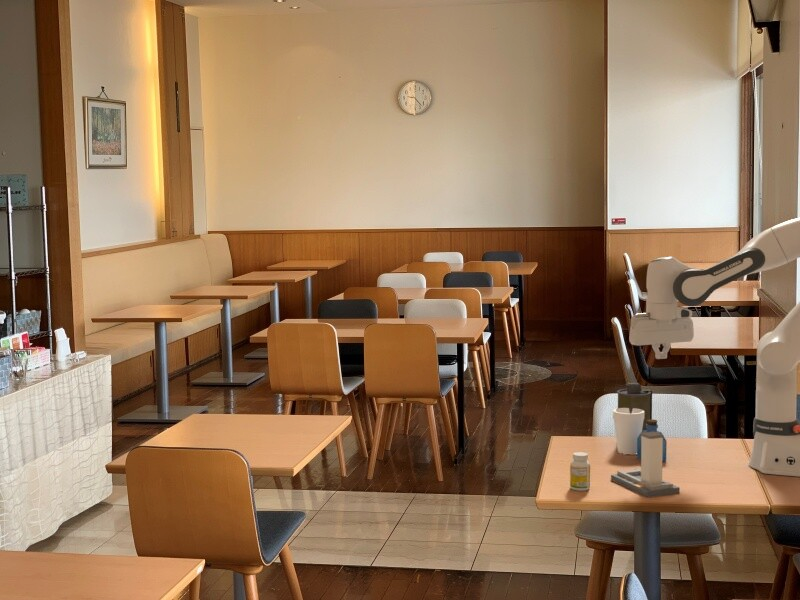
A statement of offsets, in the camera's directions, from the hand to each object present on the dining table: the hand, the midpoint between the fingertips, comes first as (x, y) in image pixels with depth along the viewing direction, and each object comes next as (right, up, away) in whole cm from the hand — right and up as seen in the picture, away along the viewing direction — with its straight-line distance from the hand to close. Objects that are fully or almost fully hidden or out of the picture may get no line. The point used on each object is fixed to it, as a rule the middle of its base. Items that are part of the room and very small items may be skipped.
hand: (661, 358), depth 305 cm
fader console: (-10, -34, -22) cm, 42 cm away
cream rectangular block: (-9, -32, -25) cm, 42 cm away
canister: (-3, -29, +23) cm, 37 cm away
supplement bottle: (-28, -34, -23) cm, 50 cm away
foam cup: (-6, -30, +15) cm, 34 cm away
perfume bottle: (-1, -31, +6) cm, 32 cm away
